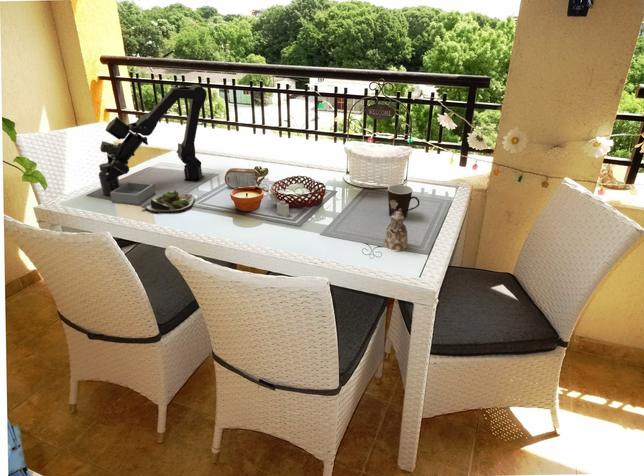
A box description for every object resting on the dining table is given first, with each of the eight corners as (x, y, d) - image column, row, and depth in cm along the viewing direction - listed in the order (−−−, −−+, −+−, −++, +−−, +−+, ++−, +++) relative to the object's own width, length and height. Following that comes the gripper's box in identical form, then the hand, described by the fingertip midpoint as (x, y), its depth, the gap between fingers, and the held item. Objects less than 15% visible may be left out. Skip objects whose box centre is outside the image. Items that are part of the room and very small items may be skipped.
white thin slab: (289, 215, 163) (288, 194, 159) (286, 216, 162) (285, 196, 158) (272, 211, 166) (271, 191, 162) (270, 213, 165) (268, 192, 161)
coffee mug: (381, 212, 165) (383, 186, 160) (401, 208, 168) (404, 183, 163) (398, 225, 155) (400, 198, 151) (419, 221, 158) (422, 194, 154)
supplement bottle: (99, 194, 180) (92, 166, 175) (112, 189, 186) (105, 161, 180) (112, 197, 178) (105, 168, 172) (125, 191, 184) (119, 163, 178)
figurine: (380, 247, 142) (382, 212, 136) (389, 238, 147) (392, 204, 141) (401, 253, 138) (405, 218, 133) (410, 244, 144) (413, 209, 138)
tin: (262, 187, 187) (261, 168, 183) (260, 190, 184) (259, 171, 180) (226, 186, 188) (224, 167, 184) (224, 189, 186) (222, 169, 182)
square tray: (155, 193, 181) (153, 184, 180) (139, 204, 171) (137, 195, 170) (129, 191, 184) (127, 181, 182) (112, 202, 174) (109, 192, 172)
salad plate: (155, 194, 181) (153, 184, 179) (199, 194, 182) (198, 183, 180) (139, 215, 164) (137, 203, 162) (188, 214, 165) (187, 202, 163)
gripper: (107, 128, 180) (84, 159, 180) (113, 139, 165) (87, 173, 166) (132, 145, 187) (109, 174, 187) (139, 157, 172) (115, 189, 173)
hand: (105, 177), depth 178 cm, fingers open, 9 cm apart
